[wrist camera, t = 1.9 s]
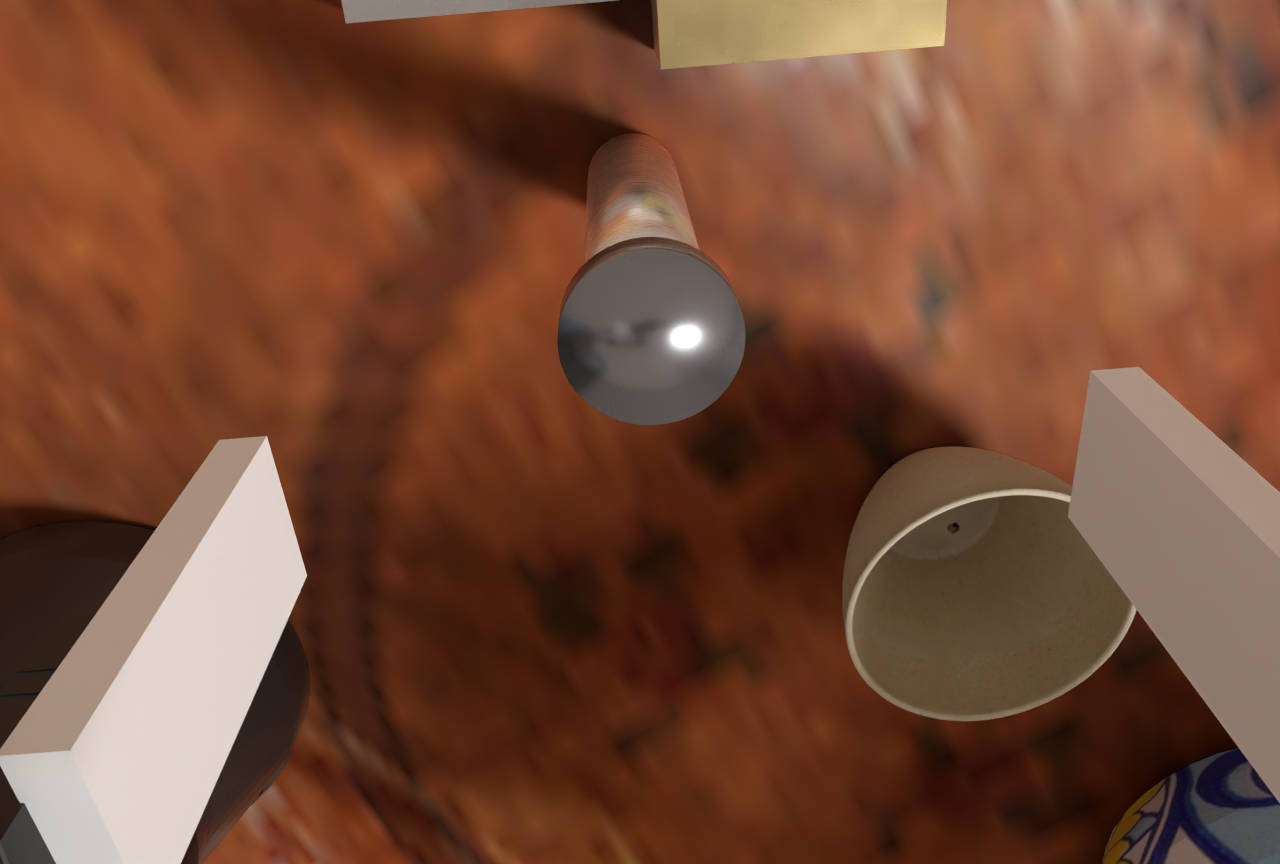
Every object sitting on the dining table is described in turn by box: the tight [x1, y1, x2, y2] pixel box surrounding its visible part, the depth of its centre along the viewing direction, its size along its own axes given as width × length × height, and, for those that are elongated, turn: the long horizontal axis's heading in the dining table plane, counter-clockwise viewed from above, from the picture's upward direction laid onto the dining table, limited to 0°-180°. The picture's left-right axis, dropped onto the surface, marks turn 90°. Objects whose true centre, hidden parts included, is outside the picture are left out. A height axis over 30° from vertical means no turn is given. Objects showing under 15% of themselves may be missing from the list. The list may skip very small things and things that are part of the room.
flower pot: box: [842, 446, 1137, 721], centre depth 37 cm, size 10×10×7 cm
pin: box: [558, 133, 745, 425], centre depth 27 cm, size 4×4×14 cm
